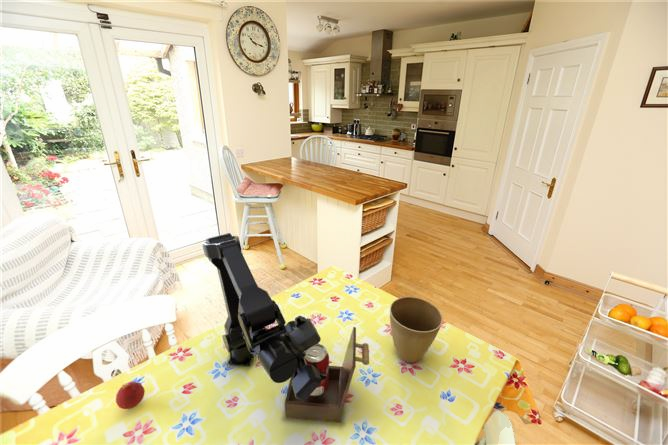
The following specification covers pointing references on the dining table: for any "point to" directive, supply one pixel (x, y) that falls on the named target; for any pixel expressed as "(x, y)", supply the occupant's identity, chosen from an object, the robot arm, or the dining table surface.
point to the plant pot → (413, 326)
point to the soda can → (319, 365)
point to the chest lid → (351, 363)
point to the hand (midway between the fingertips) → (320, 366)
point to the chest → (317, 401)
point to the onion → (130, 395)
